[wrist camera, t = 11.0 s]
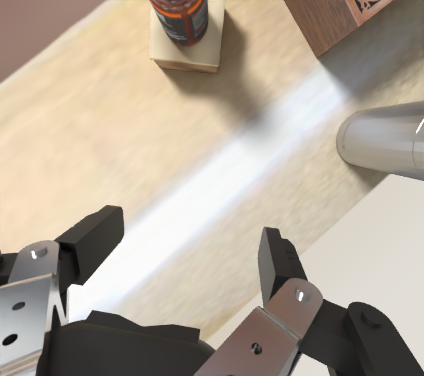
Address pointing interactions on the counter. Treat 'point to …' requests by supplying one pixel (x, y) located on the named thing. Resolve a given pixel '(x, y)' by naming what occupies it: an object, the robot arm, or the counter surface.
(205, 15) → the supplement bottle
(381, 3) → the tissue box cover
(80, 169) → the counter surface
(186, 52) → the pedestal
